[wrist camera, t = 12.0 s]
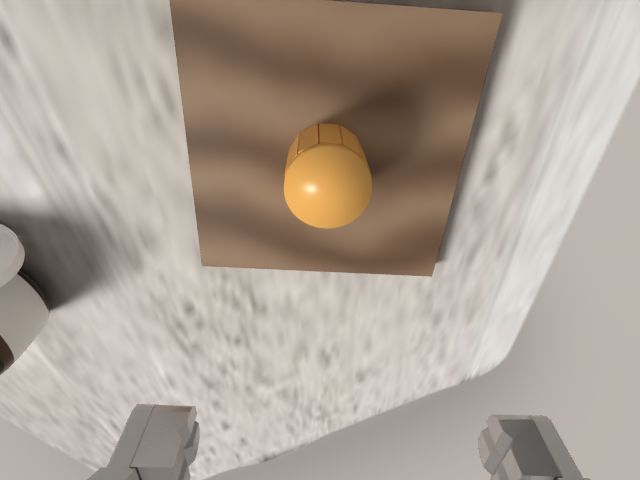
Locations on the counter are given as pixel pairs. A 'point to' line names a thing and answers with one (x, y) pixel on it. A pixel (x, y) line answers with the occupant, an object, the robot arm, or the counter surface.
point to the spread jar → (17, 302)
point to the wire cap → (327, 177)
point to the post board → (328, 108)
